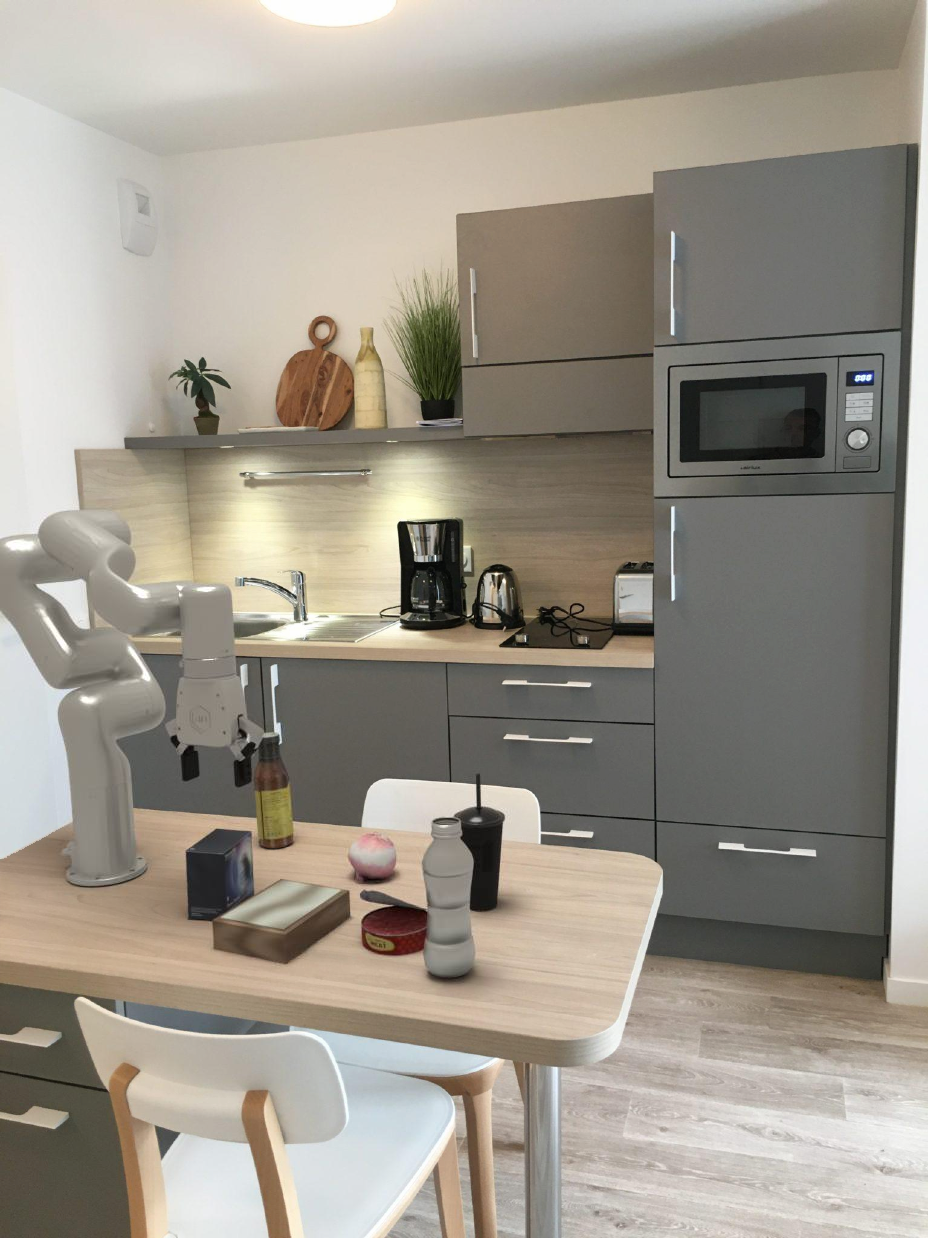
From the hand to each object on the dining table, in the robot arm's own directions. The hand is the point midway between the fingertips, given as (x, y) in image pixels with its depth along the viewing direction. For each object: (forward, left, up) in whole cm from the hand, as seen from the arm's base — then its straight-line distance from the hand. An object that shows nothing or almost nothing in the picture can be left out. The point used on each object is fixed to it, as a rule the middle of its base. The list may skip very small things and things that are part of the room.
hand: (217, 781), depth 149 cm
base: (+14, -4, -19) cm, 24 cm away
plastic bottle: (+41, -6, -20) cm, 46 cm away
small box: (0, 0, -20) cm, 20 cm away
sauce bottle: (-9, +26, -20) cm, 34 cm away
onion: (+15, +19, -20) cm, 31 cm away
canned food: (+30, 0, -20) cm, 36 cm away
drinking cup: (+36, +15, -20) cm, 43 cm away
